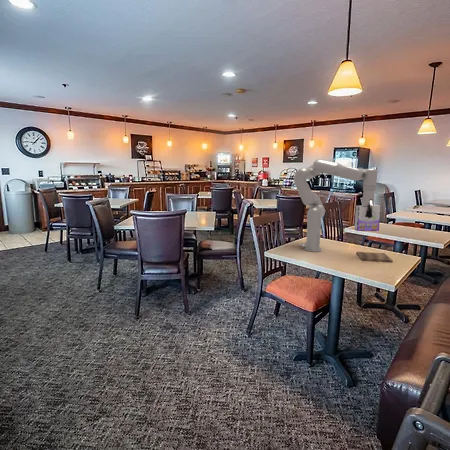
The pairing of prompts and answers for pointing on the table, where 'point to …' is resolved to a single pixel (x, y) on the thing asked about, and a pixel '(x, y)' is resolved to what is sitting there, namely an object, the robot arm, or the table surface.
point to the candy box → (367, 218)
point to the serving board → (374, 257)
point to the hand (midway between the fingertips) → (367, 215)
